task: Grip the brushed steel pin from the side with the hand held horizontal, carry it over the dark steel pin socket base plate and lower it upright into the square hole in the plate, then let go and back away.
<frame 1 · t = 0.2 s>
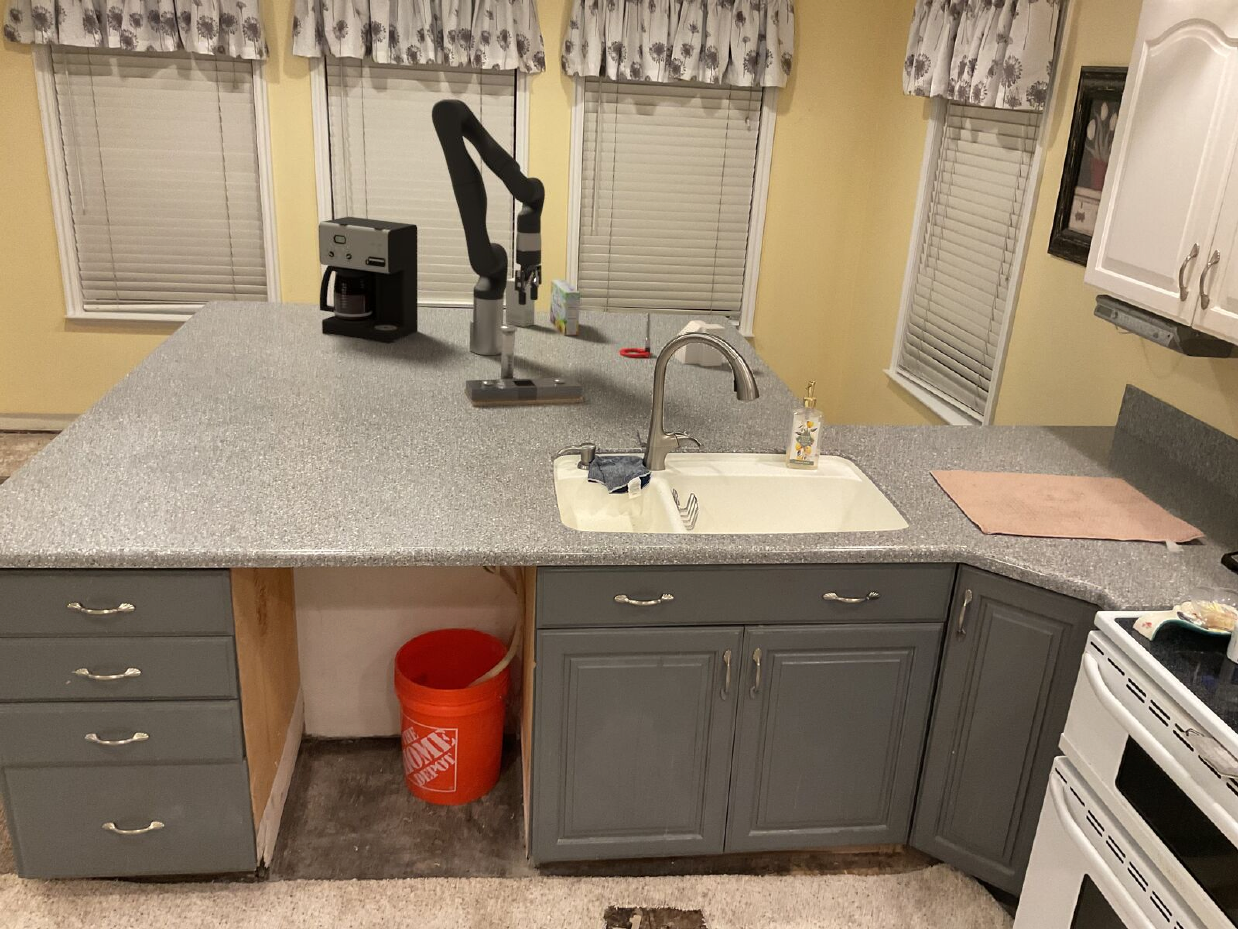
hand: (528, 302, 305), 18 cm above the worktop, fingers open, 8 cm apart
snack box: (563, 328, 351), on the worktop
skincare box: (519, 324, 352), on the worktop
coffee maker: (364, 331, 328), on the worktop
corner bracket: (697, 362, 323), on the worktop
steel pin: (507, 377, 290), on the worktop
tow hook: (634, 355, 325), on the worktop
pin socket base plate: (523, 397, 274), on the worktop
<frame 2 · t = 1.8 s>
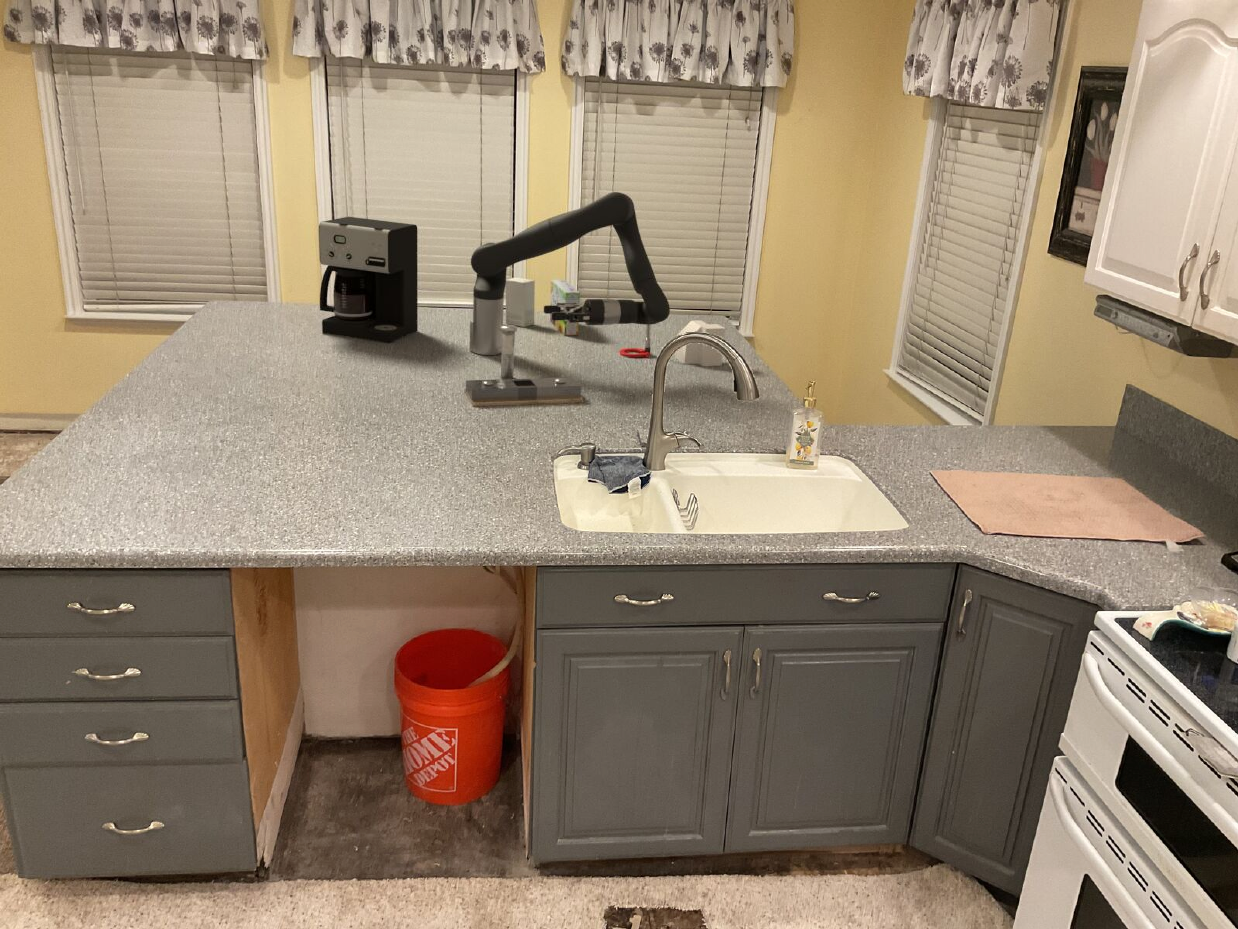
hand: (547, 312, 287), 19 cm above the worktop, fingers open, 8 cm apart
nothing on the worktop moved.
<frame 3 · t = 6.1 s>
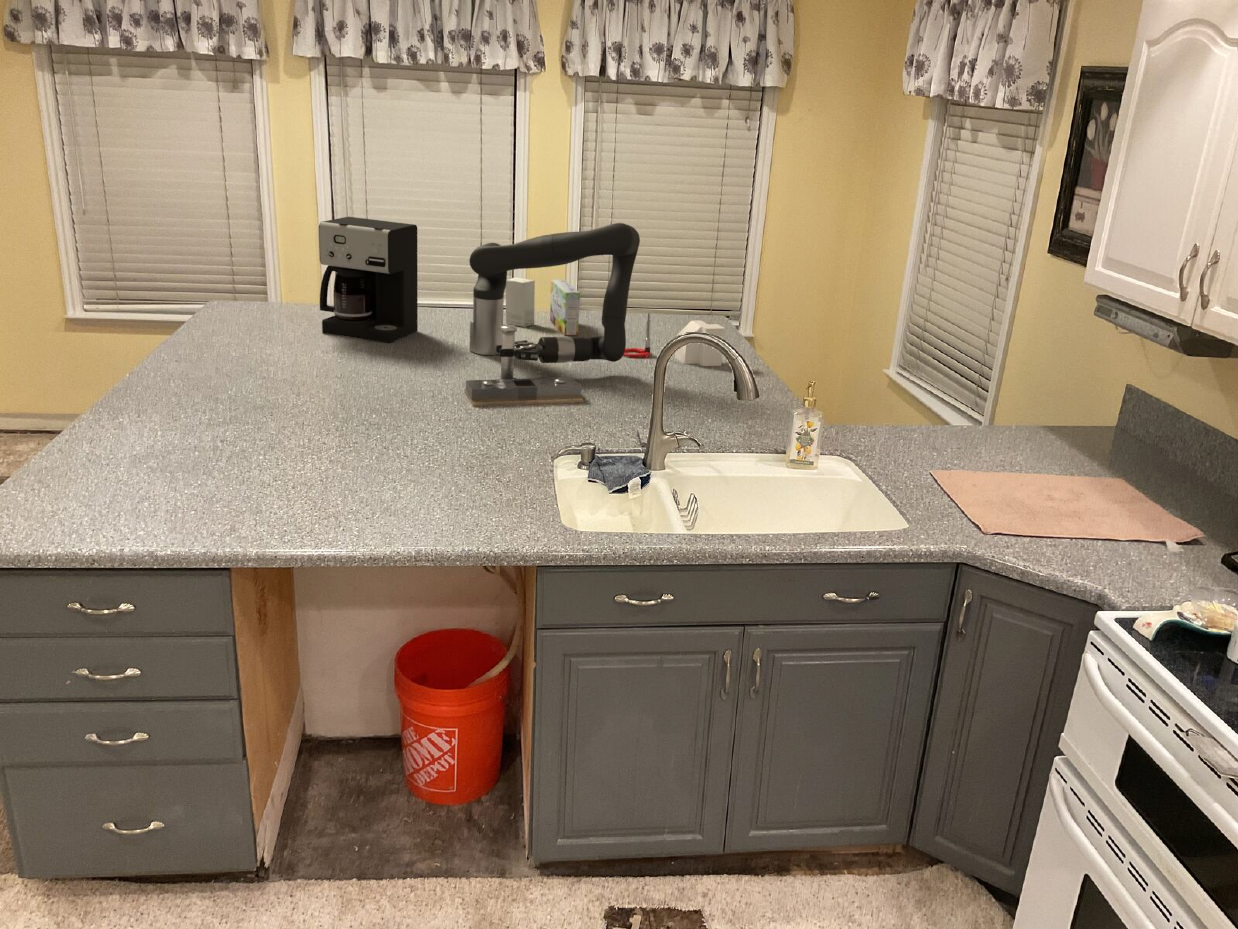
hand: (498, 350, 287), 8 cm above the worktop, fingers closed on steel pin, 3 cm apart
steel pin: (507, 377, 290), on the worktop, touching gripper
everything else where it was.
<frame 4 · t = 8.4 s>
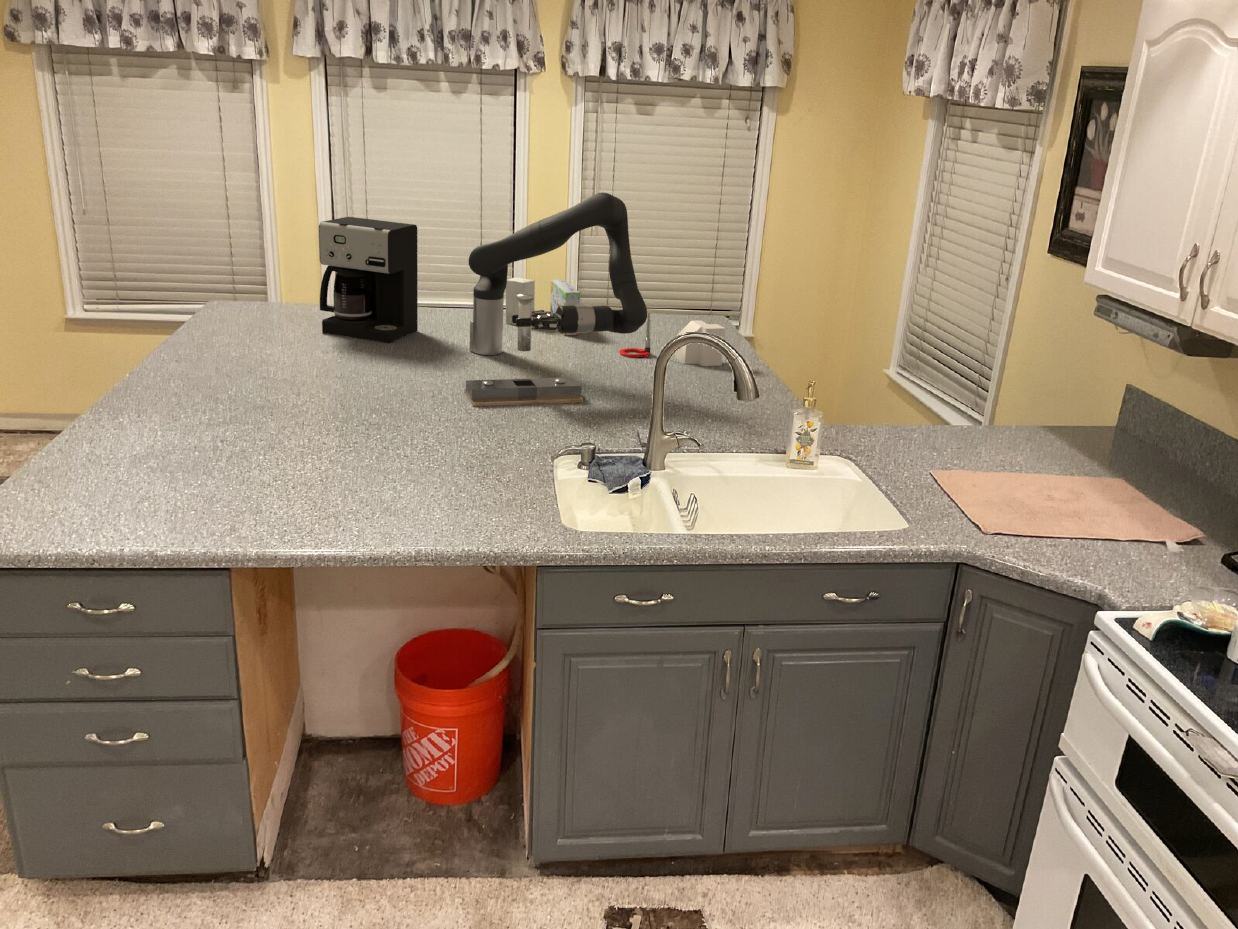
hand: (514, 320, 270), 20 cm above the worktop, fingers closed on steel pin, 3 cm apart
steel pin: (524, 349, 274), point 12 cm above the worktop, touching gripper
everything else where it was.
when the fingers open (10 cm above the worktop, at t = 10.9 s): steel pin drops 1 cm, resting on pin socket base plate.
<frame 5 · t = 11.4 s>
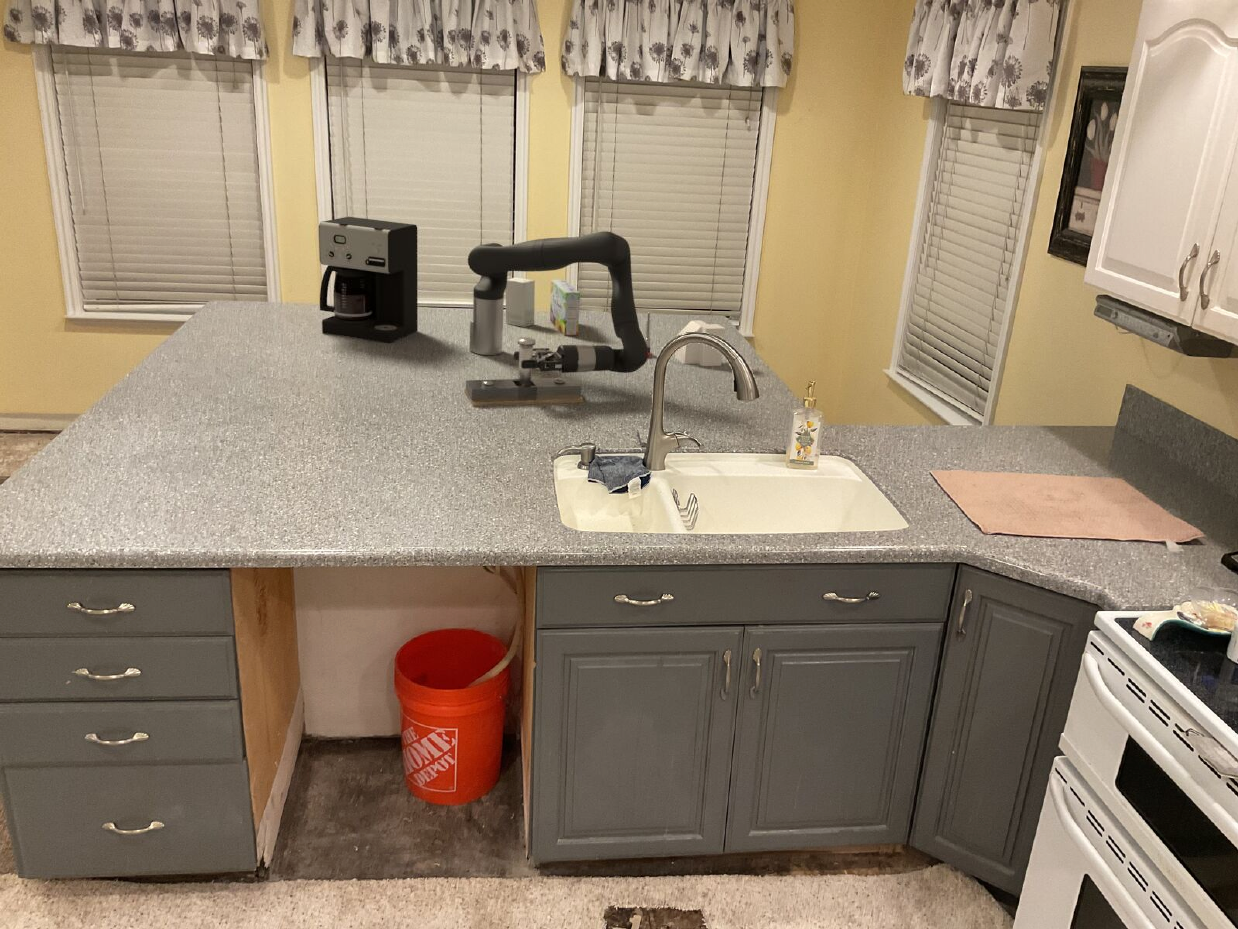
hand: (517, 359, 270), 10 cm above the worktop, fingers open, 8 cm apart
steel pin: (523, 393, 274), point 1 cm above the worktop, touching pin socket base plate
everything else where it was.
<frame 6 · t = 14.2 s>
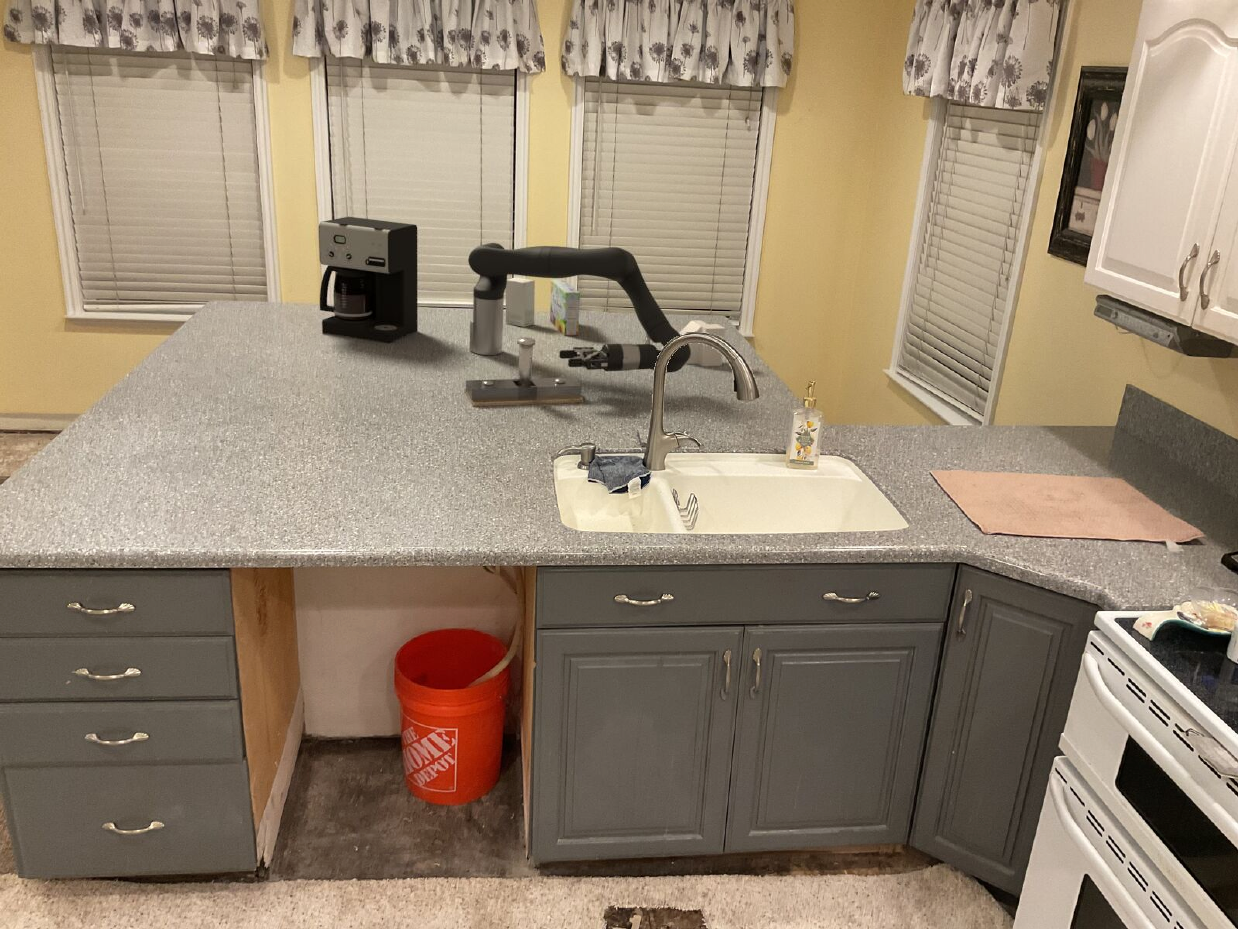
hand: (564, 358, 274), 11 cm above the worktop, fingers open, 8 cm apart
nothing on the worktop moved.
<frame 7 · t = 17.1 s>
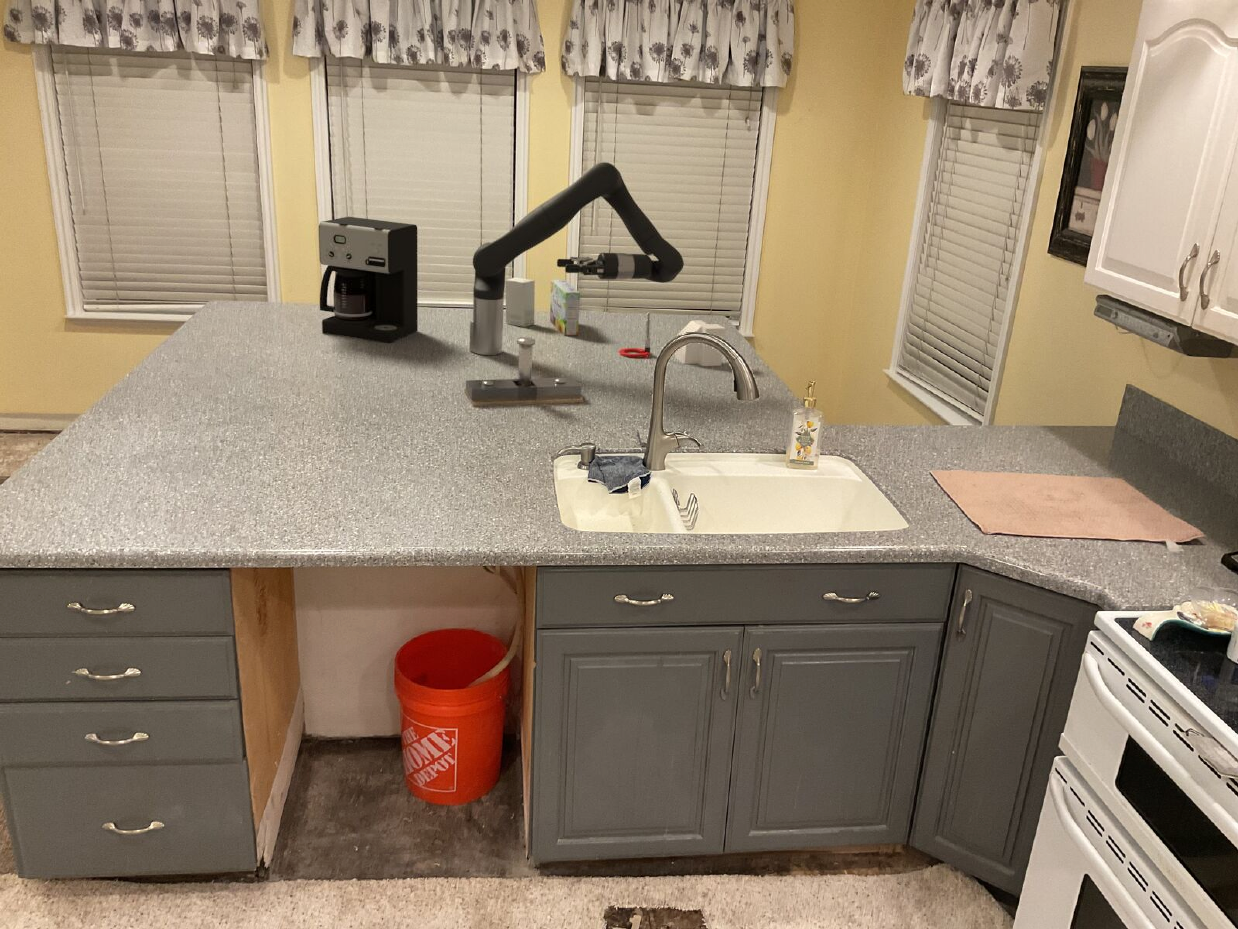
hand: (561, 265, 285), 32 cm above the worktop, fingers open, 8 cm apart
nothing on the worktop moved.
at the end: steel pin 0.1 cm off-centre on the pin socket base plate, point 1.0 cm above the pin socket base plate's base; steel pin tilted 1°; the gripper is holding nothing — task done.
